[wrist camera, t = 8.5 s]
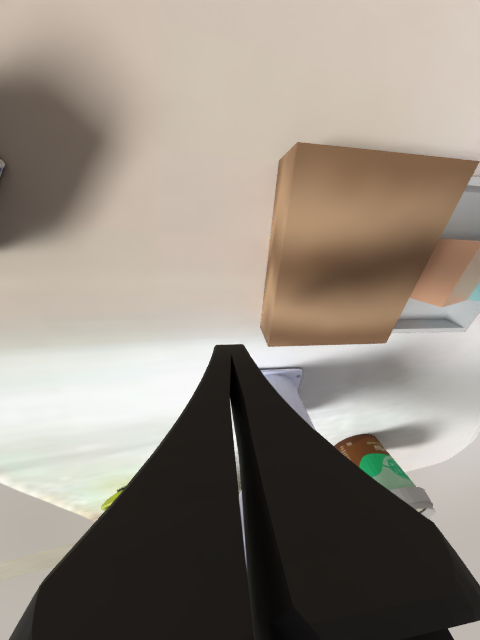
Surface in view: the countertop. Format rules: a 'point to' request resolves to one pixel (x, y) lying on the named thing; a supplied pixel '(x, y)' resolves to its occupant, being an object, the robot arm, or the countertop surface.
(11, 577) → the countertop surface
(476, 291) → the teal tile
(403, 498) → the food container
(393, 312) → the walnut board
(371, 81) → the countertop surface
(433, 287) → the terracotta tile
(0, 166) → the medicine box
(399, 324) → the tray
